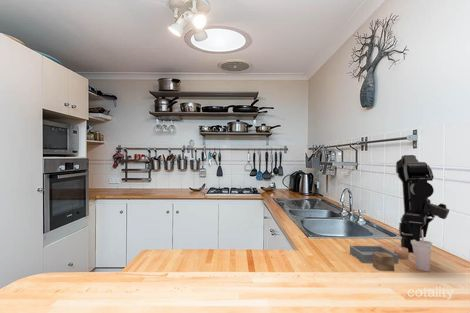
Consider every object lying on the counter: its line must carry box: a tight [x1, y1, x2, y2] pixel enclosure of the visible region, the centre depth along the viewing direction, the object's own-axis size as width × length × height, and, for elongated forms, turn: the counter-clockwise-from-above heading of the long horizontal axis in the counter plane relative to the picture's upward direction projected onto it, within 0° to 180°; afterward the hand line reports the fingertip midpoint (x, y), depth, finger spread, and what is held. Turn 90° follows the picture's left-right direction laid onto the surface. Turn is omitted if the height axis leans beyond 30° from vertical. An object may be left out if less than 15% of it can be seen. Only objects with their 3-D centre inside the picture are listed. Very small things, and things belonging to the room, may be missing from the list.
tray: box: [349, 245, 400, 265], centre depth 104 cm, size 13×13×3 cm
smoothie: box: [411, 230, 433, 272], centre depth 91 cm, size 6×6×14 cm
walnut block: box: [372, 253, 395, 272], centre depth 92 cm, size 5×5×5 cm
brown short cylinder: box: [393, 245, 410, 261], centre depth 104 cm, size 5×5×4 cm
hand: (420, 239), depth 92 cm, fingers open, 9 cm apart
